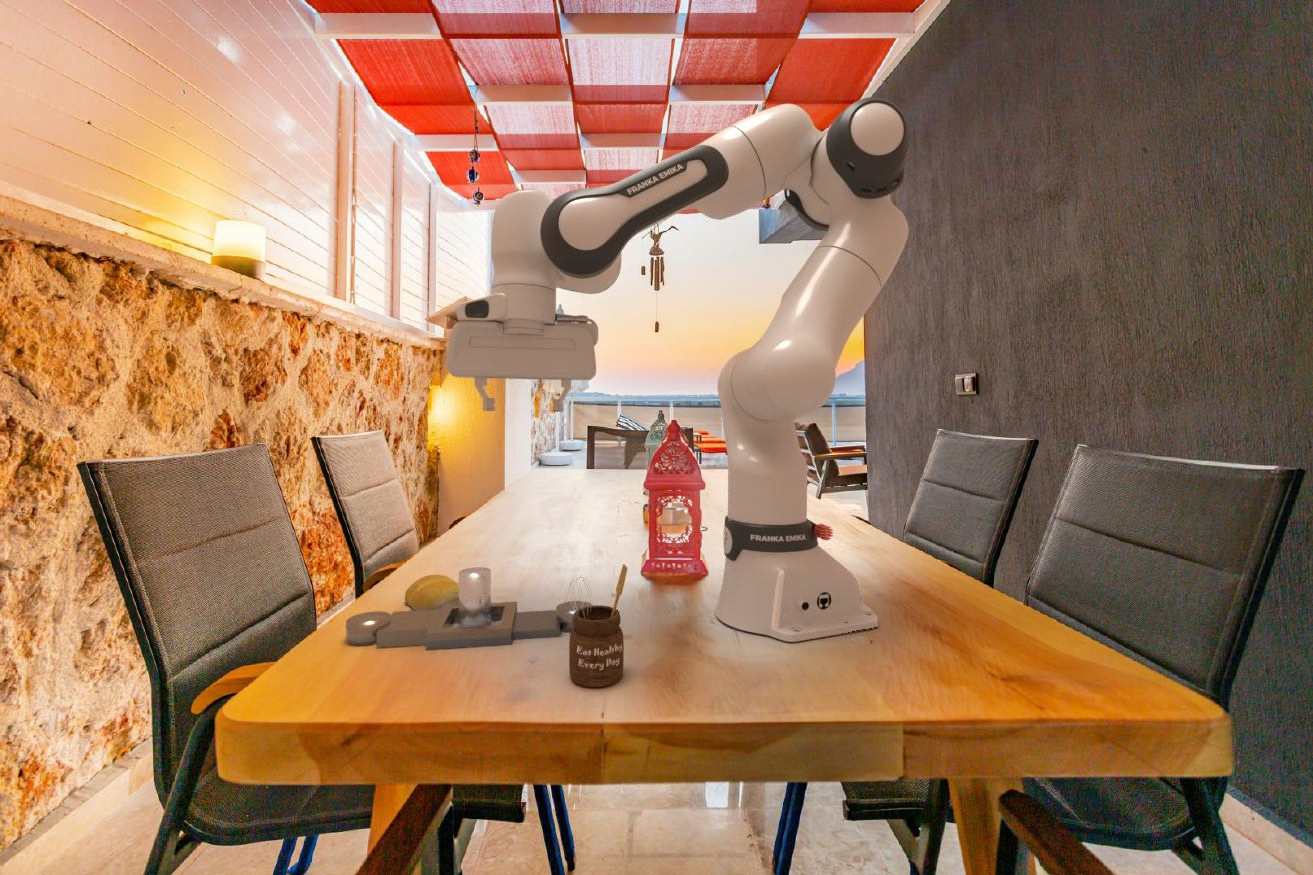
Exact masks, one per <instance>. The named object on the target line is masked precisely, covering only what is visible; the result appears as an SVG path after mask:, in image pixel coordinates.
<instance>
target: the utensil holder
mask: <svg viewBox="0 0 1313 875" xmlns="http://www.w3.org/2000/svg"><path fill="white" fill-rule="evenodd" d="M627 572H628V566H627V565H625V563H623V564H622V567H621V570H620V574H619V578H618V581H617V585H616V589H615V594H616V595H615V600H614V603H613V607H612V606H608V605H593V603H592V599H589V603H590V606H587V607H583V608H580V609H577V611H575V613H574V615H573V621H572V623H573V626H574V628H573V629H572V631H571V632H570V633H569V641H568V642H569V646H568V649H569V650H568V651H569V652H568V657H569V658H568V662H569V663H568V664H569V665H568V666H569V668H568V669H569V676H570V679H571V680H572V682H574V683H575V684H576V685H579V686H581V687H586V688H602V687H604V688H605V687H607V686H611V685H614V683H617V682H618V681H619V680H620V679H621V677H622V676H623V672H624V660H625V659H624V656H625V654H624V650H625V649H624V648H625V647H624V644H625V643H624V633H623V630H622V627H621V626H620V625H621V622H622V621H621V620H622V619H621V614H620V611H619V610H618V609H617V607H618V603H619V599H620V596H622V595H623V591H624V586H625V582H626V578H627V574H628V573H627ZM579 579H580V580H582V581H583V582H584V585H585V587H586V589H585V590H586V592H587V593H586V594H587V595H586V596H587V598H589V597H593V593H592V592H590V591H592V589H591V588H589V587H591V585H590V581H588V580H587V579H586V578H584V577H581V576H579V577H574V578H573V579H572V581H571V582H570V584H569V586H568V589H570V590H568V594H569V595H571V596H572V597H569V600H570V601H576V599H575V598H576V597H574V595H575V593H574V592H575V591H574V590H573V588H574V586H575V583H576V585H577V586H579V587H577V590H578V592H581V593H578V596H579V597H581V598H582V599H581V598H579V601H582V600H584V597H583V592H582V588H581V584H580V580H579ZM573 581H574V582H573ZM586 582H587V583H588V584H587V583H586ZM572 583H573V585H572ZM578 583H579V584H578ZM571 585H572V588H571ZM588 585H589V586H588ZM589 589H590V590H589ZM570 591H571V593H572V594H571V593H570ZM580 594H581V595H580ZM571 598H573V599H571ZM584 602H585V601H584ZM584 602H583V604H584ZM571 604H572V602H571ZM574 604H576V603H574ZM581 605H582V603H581ZM592 605H593V606H592ZM572 606H573V605H572ZM575 606H576V605H575ZM573 608H574V607H573ZM576 608H577V606H576ZM574 610H575V609H574Z"/></svg>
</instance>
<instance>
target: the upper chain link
mask: <svg viewBox="0 0 1313 875" xmlns="http://www.w3.org/2000/svg"><path fill="white" fill-rule="evenodd" d="M516 611H517V612H518V601H504V602H491V614H494V613H503V615H502V619H501V620H500V623H499V624H491V625H486V626H469V627H459V626H456V627H455V626H454V627H453V626H451V627H450V628H446V627H447V625H448V623H449V621H450V619H451V617H452V616H458V615H459V604H458V605H443V606H442V608H441V609H435V610H416V611H415V610H400V611H398V610H397V611H392V613H390V612H387V611H381V610H380V611H379V610H377V611H367V612H362V613H358V614H355V615H353V616H351V617H349V618H348V619H346V621H345V627H346V628H345V633H346V634H345V635H346V636H345V637H346V638H345V639H346V640H345V641H346V644H347V645H349V646H354V647H355V646H356V647H361V646H365V647H366V646H371V645H375V644H376V649H383V648H385V649H386V648H398V647H413V646H414V647H415V646H426V642H429V641H445V640H461V639H477V638H493V637H509V636H511V635H512V630H513V625H514V621H515V616H516Z"/></svg>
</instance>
